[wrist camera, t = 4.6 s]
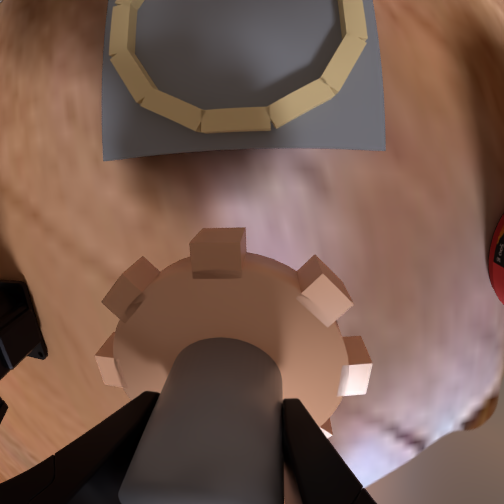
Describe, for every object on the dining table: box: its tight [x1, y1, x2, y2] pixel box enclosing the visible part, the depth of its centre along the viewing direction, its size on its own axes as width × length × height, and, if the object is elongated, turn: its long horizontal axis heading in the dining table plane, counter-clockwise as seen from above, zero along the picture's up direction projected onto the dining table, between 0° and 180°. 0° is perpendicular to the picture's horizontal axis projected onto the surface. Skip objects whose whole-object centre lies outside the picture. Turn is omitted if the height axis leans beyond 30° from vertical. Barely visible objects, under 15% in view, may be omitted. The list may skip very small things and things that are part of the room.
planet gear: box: [95, 228, 372, 504], centre depth 7 cm, size 8×8×6 cm
